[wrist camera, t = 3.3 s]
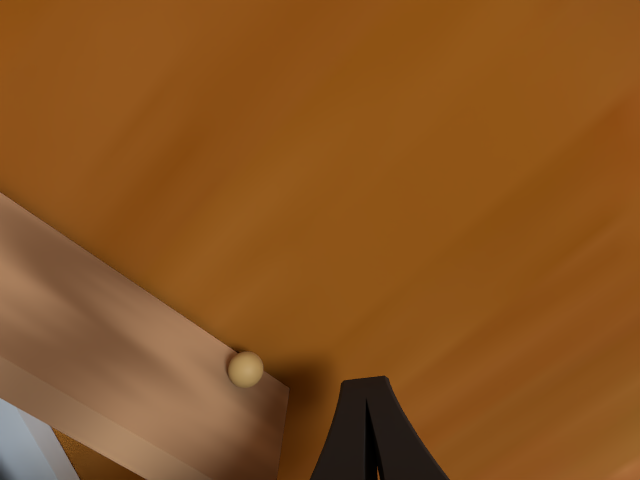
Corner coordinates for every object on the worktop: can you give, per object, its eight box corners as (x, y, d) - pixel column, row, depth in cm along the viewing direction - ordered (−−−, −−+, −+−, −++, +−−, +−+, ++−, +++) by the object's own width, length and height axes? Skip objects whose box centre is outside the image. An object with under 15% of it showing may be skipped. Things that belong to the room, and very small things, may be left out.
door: (-112, 155, 12) (-375, 190, 7) (-89, 94, 11) (-361, 95, 7) (271, 406, 15) (245, 534, 11) (307, 371, 14) (296, 492, 10)
